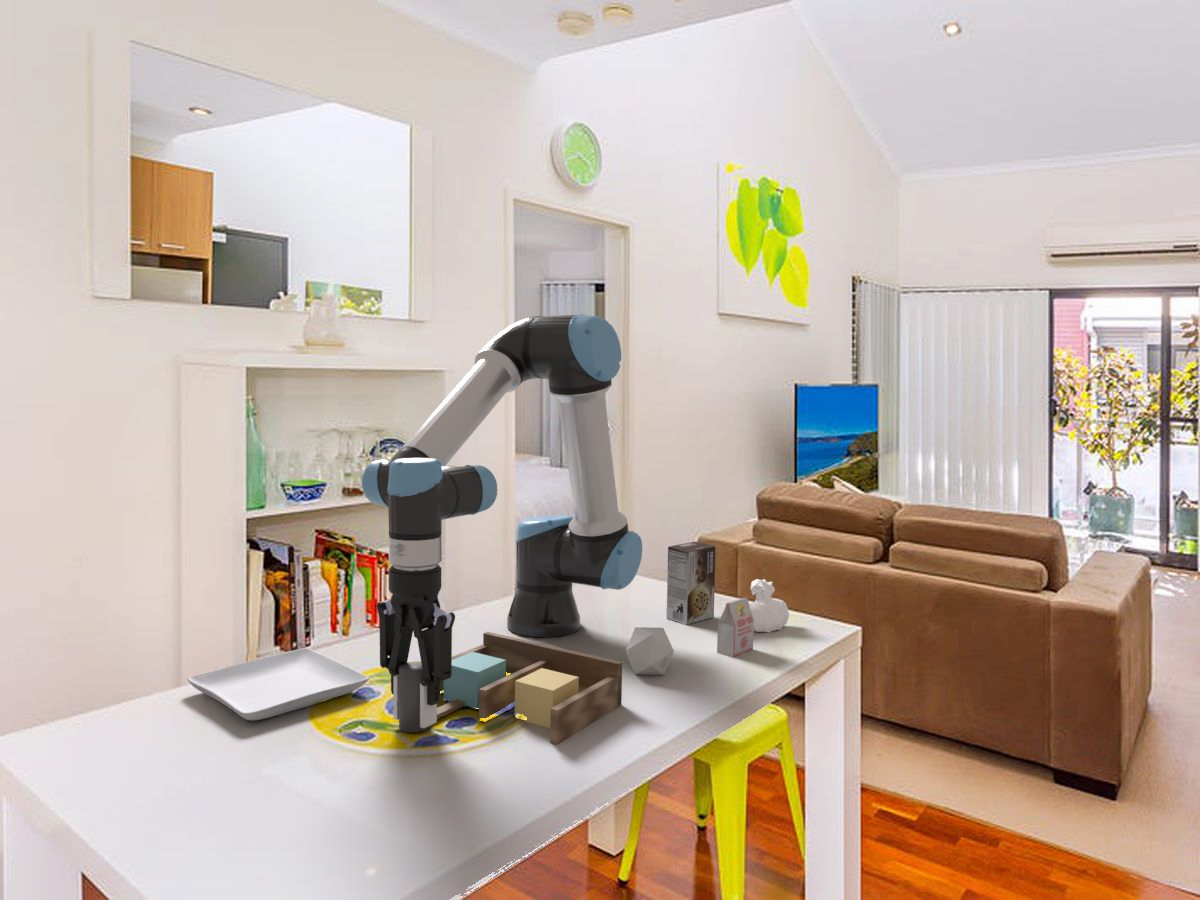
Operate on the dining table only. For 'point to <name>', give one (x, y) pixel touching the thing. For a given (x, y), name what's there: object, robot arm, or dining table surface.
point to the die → (649, 651)
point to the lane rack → (526, 657)
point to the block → (543, 694)
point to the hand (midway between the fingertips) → (415, 720)
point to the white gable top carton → (735, 629)
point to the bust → (767, 608)
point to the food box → (690, 582)
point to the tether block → (447, 686)
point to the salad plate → (278, 683)
